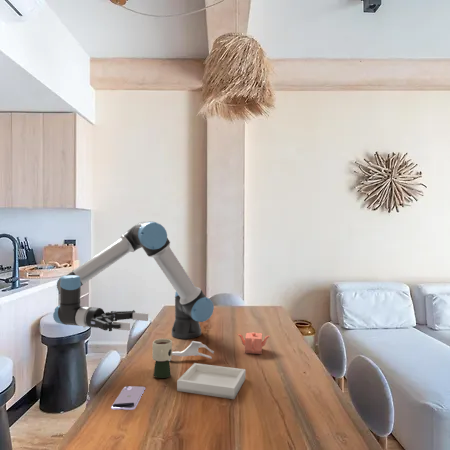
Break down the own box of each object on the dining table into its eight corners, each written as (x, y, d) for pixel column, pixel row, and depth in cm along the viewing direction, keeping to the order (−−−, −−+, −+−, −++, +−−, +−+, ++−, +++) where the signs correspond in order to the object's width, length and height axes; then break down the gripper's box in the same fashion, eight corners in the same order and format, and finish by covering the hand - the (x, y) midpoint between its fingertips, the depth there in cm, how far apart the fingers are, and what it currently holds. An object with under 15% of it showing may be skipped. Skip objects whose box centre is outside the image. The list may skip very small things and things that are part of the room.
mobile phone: (109, 407, 110) (124, 385, 125) (109, 410, 110) (124, 388, 125) (134, 408, 110) (146, 385, 125) (134, 411, 110) (146, 388, 125)
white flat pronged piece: (205, 372, 153) (165, 358, 150) (215, 347, 154) (176, 332, 151) (205, 374, 151) (165, 360, 148) (215, 348, 152) (176, 334, 149)
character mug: (171, 382, 129) (172, 345, 129) (151, 383, 128) (151, 346, 128) (171, 370, 140) (172, 336, 140) (153, 370, 139) (153, 337, 139)
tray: (194, 372, 138) (194, 363, 138) (245, 378, 132) (245, 369, 132) (177, 390, 122) (177, 380, 122) (234, 399, 117) (234, 388, 117)
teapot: (270, 357, 154) (270, 337, 154) (235, 355, 156) (235, 336, 156) (270, 347, 166) (271, 329, 166) (238, 346, 168) (238, 328, 168)
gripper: (109, 318, 154) (154, 323, 148) (68, 335, 130) (120, 341, 124) (109, 301, 154) (154, 304, 148) (69, 315, 130) (120, 320, 124)
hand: (139, 321), depth 136 cm, fingers open, 13 cm apart
